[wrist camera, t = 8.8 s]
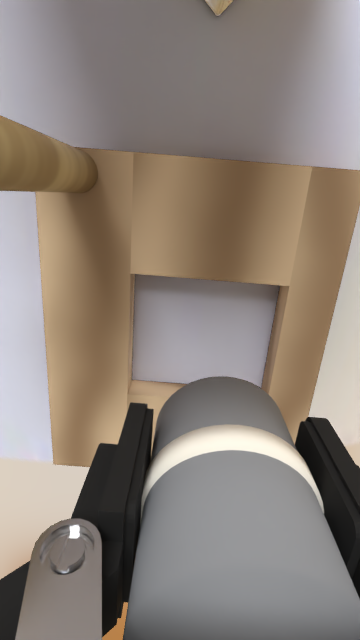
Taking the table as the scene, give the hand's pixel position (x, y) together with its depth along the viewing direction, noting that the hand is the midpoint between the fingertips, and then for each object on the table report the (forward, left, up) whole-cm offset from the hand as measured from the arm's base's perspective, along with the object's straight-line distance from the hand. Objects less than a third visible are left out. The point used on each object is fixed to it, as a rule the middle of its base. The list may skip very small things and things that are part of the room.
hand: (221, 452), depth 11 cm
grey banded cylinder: (0, 0, -1) cm, 1 cm away
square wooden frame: (-1, 0, -10) cm, 10 cm away
